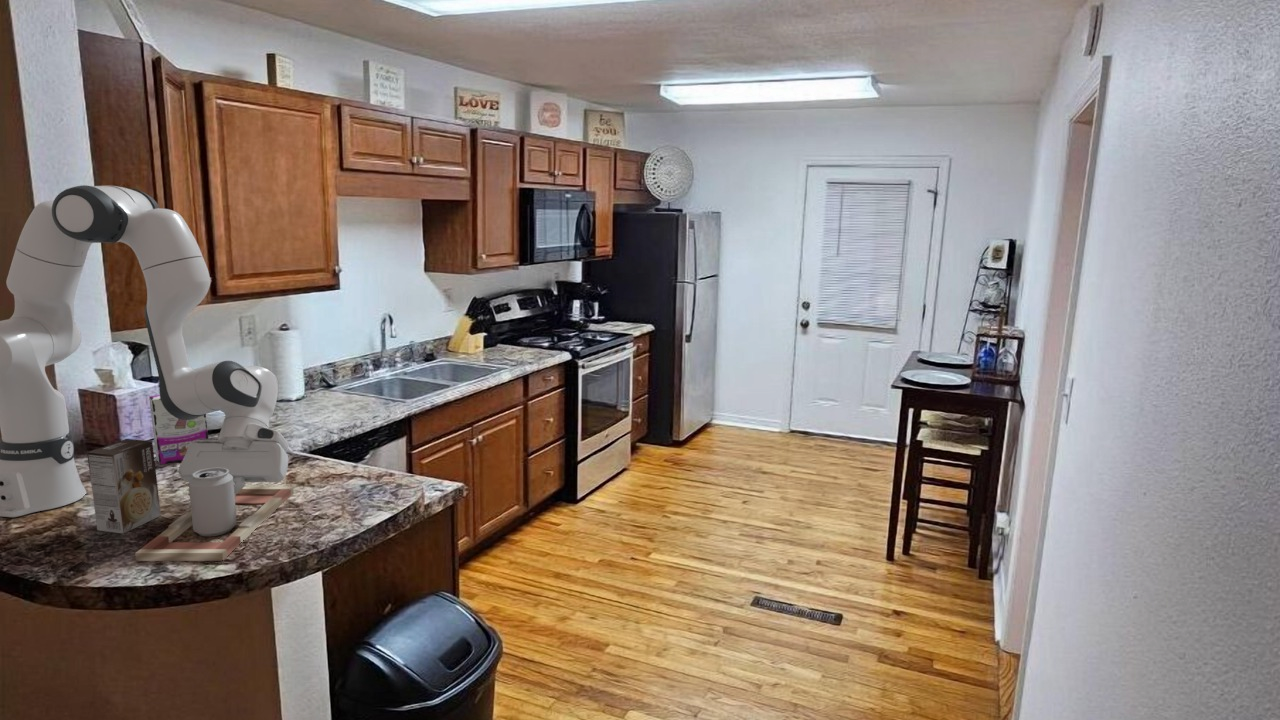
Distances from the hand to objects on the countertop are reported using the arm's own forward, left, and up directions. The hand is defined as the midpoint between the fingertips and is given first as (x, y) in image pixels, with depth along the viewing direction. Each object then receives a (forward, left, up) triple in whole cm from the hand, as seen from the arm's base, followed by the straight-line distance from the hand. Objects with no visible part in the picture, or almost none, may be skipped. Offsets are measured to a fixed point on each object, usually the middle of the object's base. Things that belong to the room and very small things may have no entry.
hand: (224, 500), depth 153 cm
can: (0, -4, -5) cm, 6 cm away
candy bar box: (-28, +39, -5) cm, 48 cm away
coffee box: (-18, -1, -5) cm, 19 cm away
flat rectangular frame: (0, -1, -4) cm, 5 cm away
